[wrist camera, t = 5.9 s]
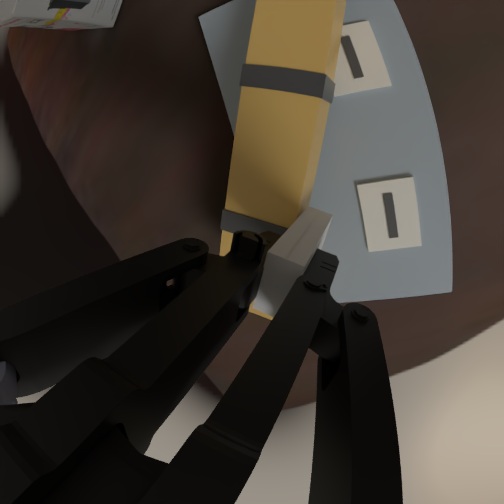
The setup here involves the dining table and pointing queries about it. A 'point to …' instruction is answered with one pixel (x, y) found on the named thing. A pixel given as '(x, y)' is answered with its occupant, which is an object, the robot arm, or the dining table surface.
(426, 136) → the power panel
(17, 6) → the ink box
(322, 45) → the banded tan post
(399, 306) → the dining table surface
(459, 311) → the dining table surface
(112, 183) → the dining table surface
